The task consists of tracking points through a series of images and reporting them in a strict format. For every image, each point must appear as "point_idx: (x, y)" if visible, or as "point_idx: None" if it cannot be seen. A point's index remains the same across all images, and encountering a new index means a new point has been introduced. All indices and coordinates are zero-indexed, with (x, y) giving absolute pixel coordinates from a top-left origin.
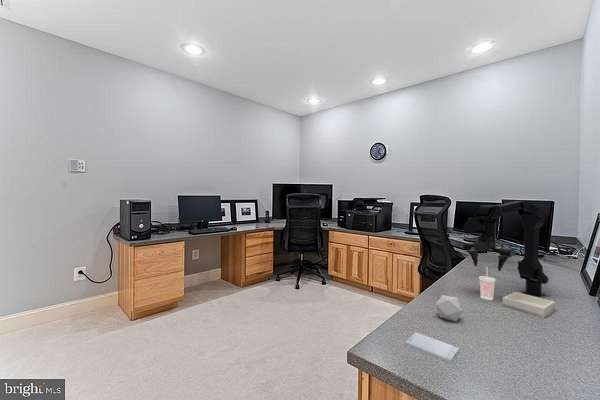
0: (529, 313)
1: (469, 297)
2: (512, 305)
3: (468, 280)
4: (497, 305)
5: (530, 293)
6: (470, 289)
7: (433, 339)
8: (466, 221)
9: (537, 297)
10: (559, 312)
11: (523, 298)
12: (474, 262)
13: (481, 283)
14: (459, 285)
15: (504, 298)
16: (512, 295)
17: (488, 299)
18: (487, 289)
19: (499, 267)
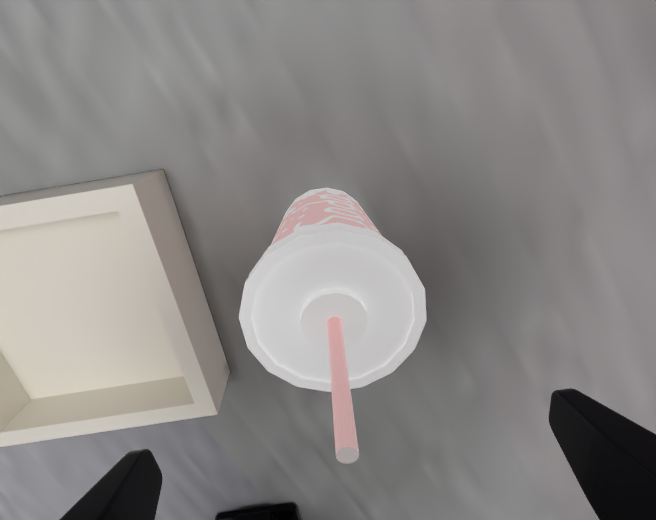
0: None
1: (396, 98)
2: (81, 186)
3: None
4: (183, 143)
5: (252, 514)
6: (495, 295)
7: None
8: None
9: (82, 430)
10: None
11: (165, 387)
12: (638, 442)
13: (354, 223)
14: (590, 303)
15: (118, 186)
16: (166, 327)
17: (293, 202)
18: (291, 217)
19: (72, 515)
